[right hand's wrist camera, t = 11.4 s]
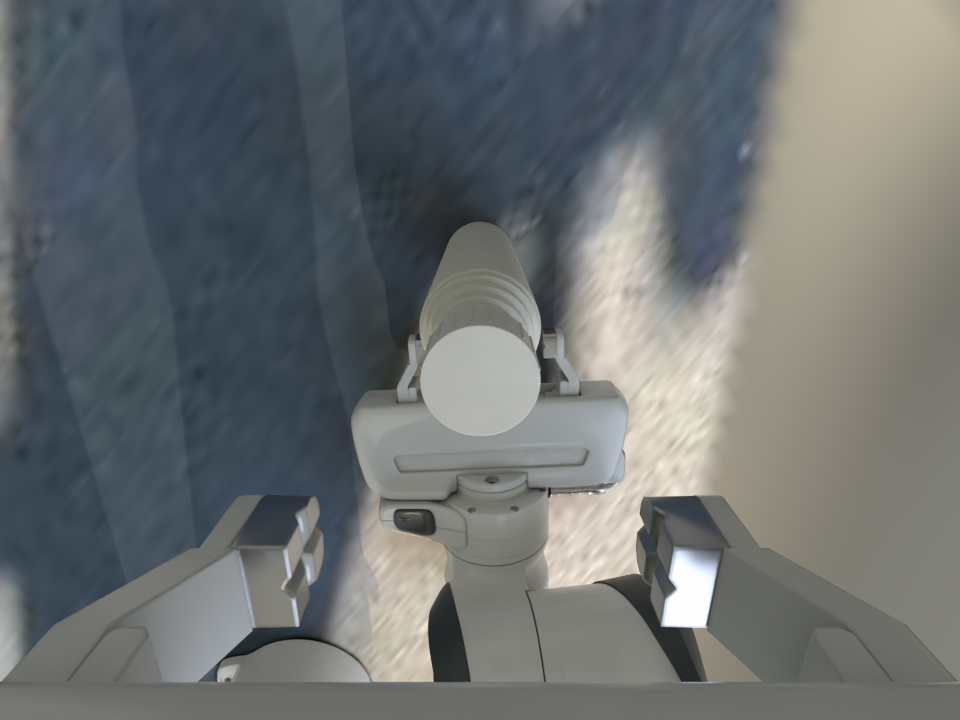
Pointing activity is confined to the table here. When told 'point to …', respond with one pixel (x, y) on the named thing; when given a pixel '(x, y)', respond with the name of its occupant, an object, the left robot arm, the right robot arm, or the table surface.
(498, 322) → the cap
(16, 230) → the table surface
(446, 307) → the bottle
